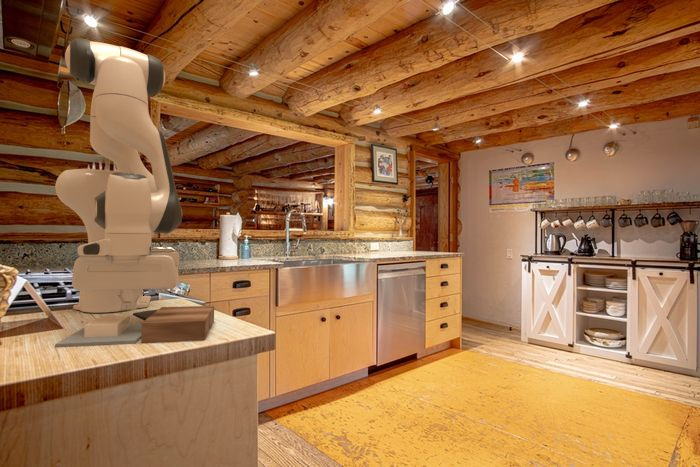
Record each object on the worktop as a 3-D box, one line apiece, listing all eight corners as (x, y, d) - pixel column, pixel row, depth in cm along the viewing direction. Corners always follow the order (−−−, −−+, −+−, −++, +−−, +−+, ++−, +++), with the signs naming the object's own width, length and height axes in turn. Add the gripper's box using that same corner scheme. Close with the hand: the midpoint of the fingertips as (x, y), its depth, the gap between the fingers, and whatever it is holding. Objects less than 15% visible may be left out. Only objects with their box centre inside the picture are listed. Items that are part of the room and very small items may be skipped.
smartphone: (159, 308, 106) (183, 316, 96) (159, 312, 106) (183, 320, 96) (131, 312, 101) (153, 321, 91) (131, 316, 101) (153, 325, 91)
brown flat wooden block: (161, 323, 91) (161, 307, 91) (213, 321, 94) (214, 305, 94) (141, 343, 76) (141, 323, 76) (204, 340, 79) (205, 320, 78)
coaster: (130, 315, 86) (129, 326, 86) (100, 316, 84) (100, 327, 84) (117, 324, 78) (117, 336, 78) (84, 325, 77) (84, 337, 77)
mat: (89, 327, 87) (89, 324, 87) (155, 324, 90) (155, 322, 90) (55, 347, 72) (55, 344, 72) (135, 343, 76) (135, 340, 76)
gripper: (182, 246, 88) (181, 305, 88) (82, 245, 83) (81, 308, 83) (176, 247, 82) (176, 311, 82) (68, 247, 77) (67, 314, 77)
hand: (127, 310), depth 82 cm, fingers closed
